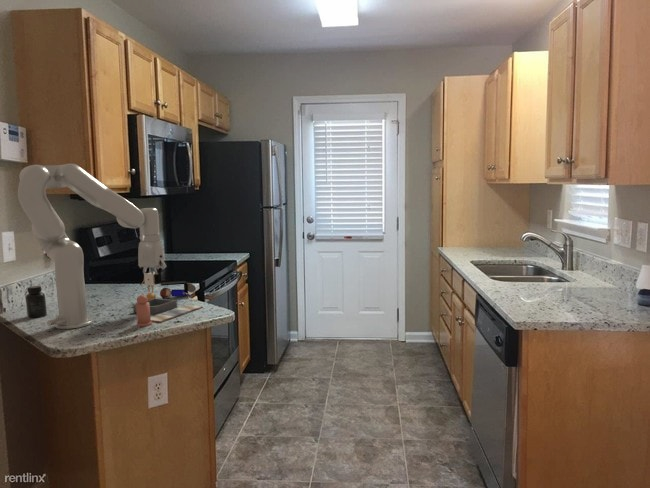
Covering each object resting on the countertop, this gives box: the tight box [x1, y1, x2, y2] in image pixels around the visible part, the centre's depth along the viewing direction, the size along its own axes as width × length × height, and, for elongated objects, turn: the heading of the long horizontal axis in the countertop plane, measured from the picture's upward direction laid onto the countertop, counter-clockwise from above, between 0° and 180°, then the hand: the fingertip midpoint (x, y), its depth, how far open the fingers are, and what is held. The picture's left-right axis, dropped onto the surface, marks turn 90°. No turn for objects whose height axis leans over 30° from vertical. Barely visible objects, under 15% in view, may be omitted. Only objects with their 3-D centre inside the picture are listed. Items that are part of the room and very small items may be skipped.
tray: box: [132, 298, 178, 315], centre depth 214 cm, size 12×12×3 cm
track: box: [150, 304, 204, 324], centre depth 205 cm, size 24×8×1 cm, turn 154°
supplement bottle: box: [25, 285, 48, 319], centre depth 210 cm, size 7×7×12 cm
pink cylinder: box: [135, 294, 153, 328], centre depth 190 cm, size 5×5×11 cm
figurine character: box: [159, 280, 197, 299], centre depth 236 cm, size 7×8×15 cm
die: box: [143, 271, 161, 286], centre depth 212 cm, size 5×5×5 cm
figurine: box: [140, 279, 161, 300], centre depth 229 cm, size 8×6×12 cm
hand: (153, 282), depth 212 cm, fingers closed on die, 4 cm apart
